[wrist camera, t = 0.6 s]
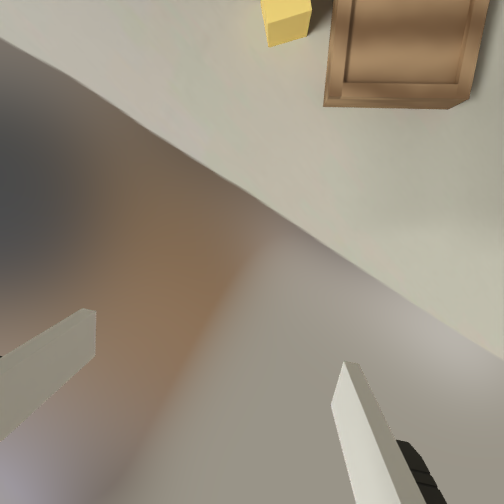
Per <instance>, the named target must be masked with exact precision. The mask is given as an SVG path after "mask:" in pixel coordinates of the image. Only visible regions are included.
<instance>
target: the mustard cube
mask: <svg viewBox="0 0 504 504" xmlns="http://www.w3.org/2000/svg"><path fill="white" fill-rule="evenodd" d="M261 8H262V14H263V19H264V25H265V30H266V36H267V41H268V47H273V46H276V45H279V44H283V43H286V42H289V41H293V40H296V39H299V38H303V37H306V36H307V32H308V27H309V22H310V17H311V12H312V7H311V0H261Z"/></svg>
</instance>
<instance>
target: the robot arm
mask: <svg viewBox="0 0 504 504" xmlns="http://www.w3.org/2000/svg"><path fill="white" fill-rule="evenodd" d="M95 337H96V311H93V310H88V309H83V308H82V309H81V310H79V311H77V312H75V313H74V314H72V315H71V316H69V317H67V318H66V319H64V320H62V321H61V322H59V323H57V324H56V325H54V326H52V327H51V328H49V329H47V330H46V331H44V332H43V333H41V334H39V335H38V336H36V337H34V338H33V339H31V340H29V341H28V342H26V343H24V344H23V345H21V346H19V347H18V348H16V349H14V350H13V351H11V352H10V353H8V354H6V355H5V356H0V442H1V441H2V440H4V438H6V437H7V436H8V435H9V434H10V433H11V432H12V431H13V430H14V429H16V427H18V426H19V425H20V424H21V423H22V422H23V421H24V420H25V419H27V418H28V417H29V416H30V415H31V414H32V413H33V412H34V411H35V410H36V409H37V408H39V407H40V406H41V405H42V404H43V403H44V402H45V401H46V400H47V399H48V398H49V397H51V396H52V395H53V394H54V393H55V392H56V391H57V390H58V389H59V388H60V387H61V386H63V385H64V384H65V383H66V382H67V381H68V380H69V379H70V378H71V377H72V376H74V375H75V374H76V373H77V372H78V371H79V370H80V369H81V368H82V367H83V366H85V365H86V364H87V363H88V362H89V361H90V360H91V359H92V358H93V357H94V356H95V339H96V338H95ZM331 408H332V412H333V415H334V420H335V423H336V427H337V431H338V435H339V439H340V443H341V447H342V451H343V455H344V458H345V462H346V466H347V470H348V474H349V478H350V482H351V486H352V489H353V493H354V497H355V501H356V504H447V503H446V501H445V499H444V497H443V495H442V494H441V492H440V490H438V488H437V485H436V483H435V481H434V479H433V477H432V476H430V472H429V470H428V468H427V466H426V464H425V463H424V461H423V459H422V457H421V456H420V455H419V454H418V453H417V452H416V450H415V449H414V448H413V447H412V446H411V445H410V443H408V442H405V441H400V440H395V438H394V436H393V434H392V432H391V429H390V427H389V425H388V424H387V421H386V419H385V417H384V415H383V413H382V411H381V409H380V407H379V404H378V402H377V400H376V398H375V397H374V394H373V392H372V390H371V388H370V386H369V384H368V382H367V380H366V378H365V376H364V373H363V372H362V369H361V367H360V365H359V364H356V363H351V362H346V361H344V362H343V365H342V369H341V372H340V376H339V379H338V383H337V386H336V390H335V393H334V396H333V400H332V403H331Z"/></svg>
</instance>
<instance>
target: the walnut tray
mask: <svg viewBox="0 0 504 504" xmlns="http://www.w3.org/2000/svg"><path fill="white" fill-rule="evenodd" d="M489 1H490V0H333V10H332V20H331V30H330V41H329V51H328V61H327V72H326V82H325V92H324V103H323V107H361V108H408V109H450V108H452V107H454V106H456V105H458V104H460V103H462V102H464V101H466V100H468V99H469V97H470V92H471V87H472V82H473V77H474V73H475V68H476V63H477V58H478V53H479V49H480V44H481V39H482V34H483V29H484V25H485V20H486V15H487V10H488V5H489Z"/></svg>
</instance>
